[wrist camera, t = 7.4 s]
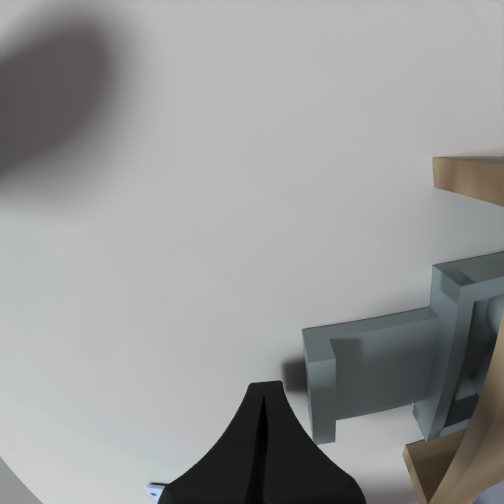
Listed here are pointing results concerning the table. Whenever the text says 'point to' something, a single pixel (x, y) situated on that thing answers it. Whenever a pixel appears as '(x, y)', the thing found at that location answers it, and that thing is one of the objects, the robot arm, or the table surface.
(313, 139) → the table surface
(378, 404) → the tray
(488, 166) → the shelf
